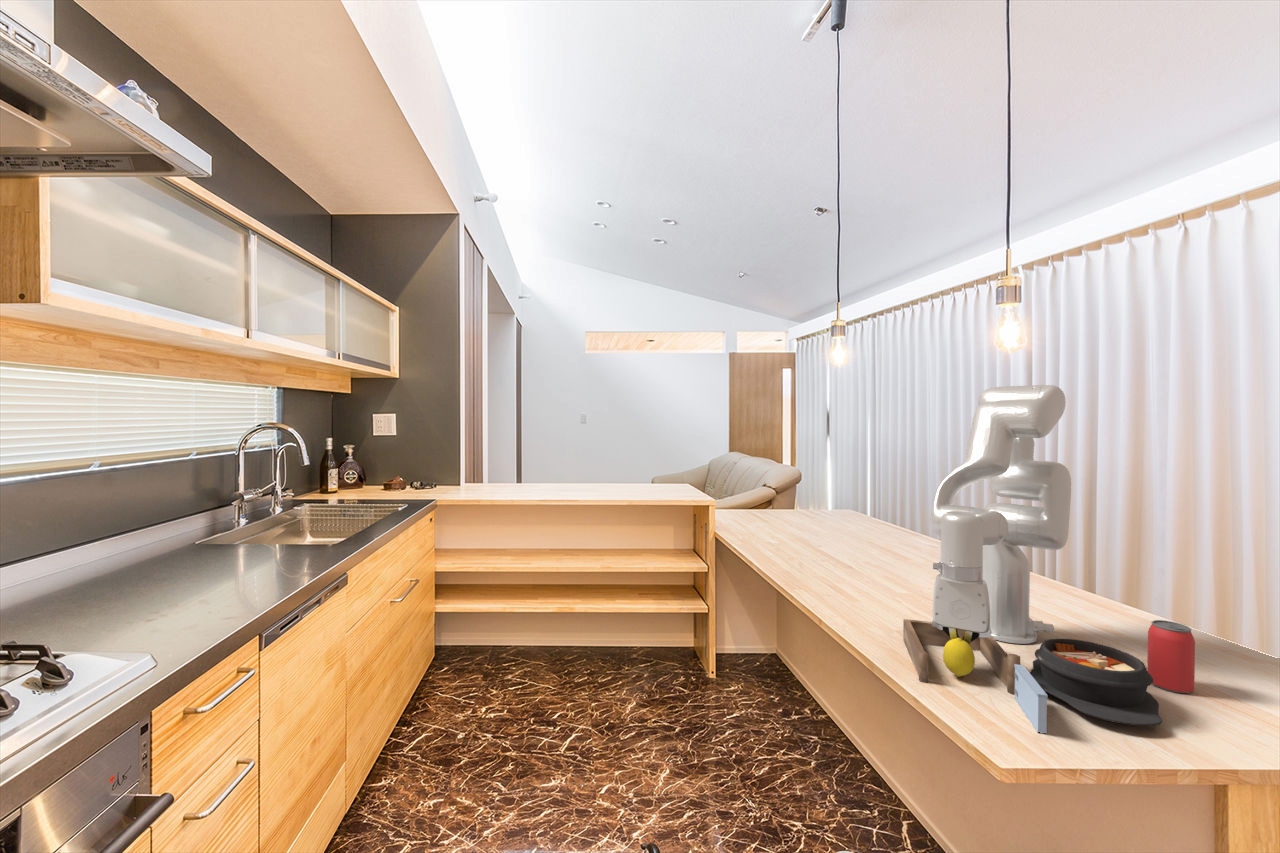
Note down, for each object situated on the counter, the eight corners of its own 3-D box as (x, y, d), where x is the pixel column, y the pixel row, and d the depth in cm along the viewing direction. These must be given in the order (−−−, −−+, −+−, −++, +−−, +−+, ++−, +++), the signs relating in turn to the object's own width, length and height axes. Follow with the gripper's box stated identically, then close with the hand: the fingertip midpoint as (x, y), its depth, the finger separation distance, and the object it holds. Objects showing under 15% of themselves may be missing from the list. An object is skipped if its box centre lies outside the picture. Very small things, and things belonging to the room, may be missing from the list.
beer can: (1183, 697, 102) (1184, 634, 102) (1139, 682, 108) (1140, 621, 108) (1201, 690, 104) (1202, 628, 104) (1157, 675, 110) (1158, 617, 110)
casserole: (1008, 663, 116) (1009, 624, 116) (1113, 674, 111) (1114, 634, 111) (1062, 726, 92) (1063, 677, 92) (1199, 745, 87) (1200, 693, 87)
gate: (1014, 698, 101) (1014, 664, 101) (1022, 699, 101) (1023, 665, 101) (1037, 732, 90) (1037, 693, 90) (1047, 734, 90) (1047, 695, 90)
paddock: (986, 649, 123) (986, 618, 123) (1021, 695, 102) (1022, 658, 102) (902, 639, 128) (902, 610, 128) (919, 682, 108) (920, 647, 107)
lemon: (968, 687, 106) (968, 647, 105) (938, 676, 110) (938, 637, 110) (978, 677, 109) (979, 638, 109) (949, 666, 114) (949, 629, 113)
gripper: (918, 570, 114) (918, 657, 114) (1004, 582, 105) (1003, 676, 106) (923, 562, 120) (923, 645, 120) (1004, 573, 112) (1004, 662, 112)
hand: (960, 659), depth 113 cm, fingers closed
